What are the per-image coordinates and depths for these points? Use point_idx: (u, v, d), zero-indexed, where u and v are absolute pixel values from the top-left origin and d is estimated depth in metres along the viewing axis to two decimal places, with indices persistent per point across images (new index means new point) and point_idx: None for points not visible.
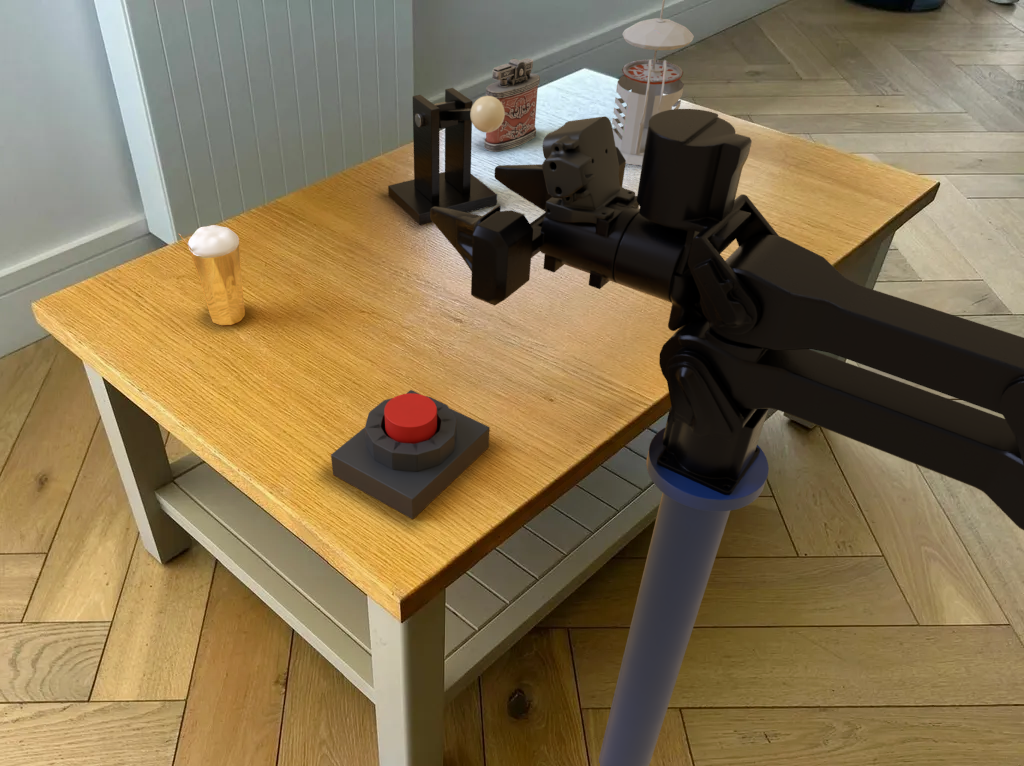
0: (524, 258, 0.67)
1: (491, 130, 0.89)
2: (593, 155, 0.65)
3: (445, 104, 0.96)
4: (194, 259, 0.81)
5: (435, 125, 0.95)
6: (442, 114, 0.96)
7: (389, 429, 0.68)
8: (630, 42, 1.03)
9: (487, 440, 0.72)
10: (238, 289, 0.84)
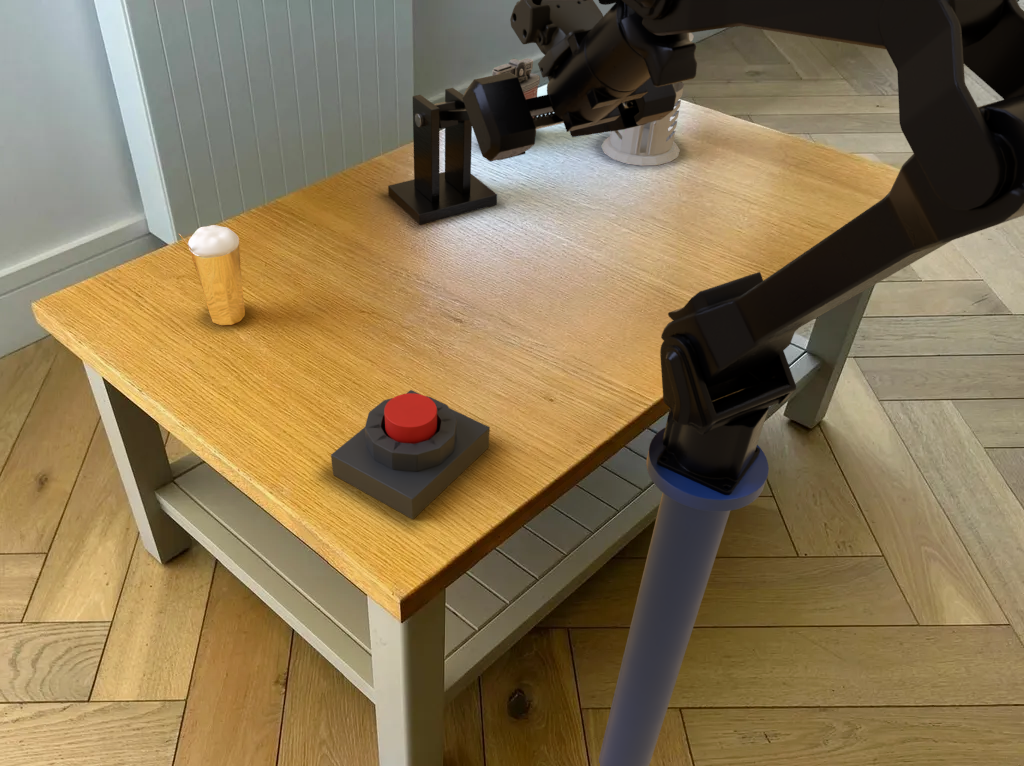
0: (515, 103, 0.72)
1: None
2: (558, 3, 0.72)
3: (445, 104, 0.96)
4: (194, 259, 0.81)
5: (435, 125, 0.95)
6: (442, 114, 0.96)
7: (389, 429, 0.68)
8: None
9: (487, 440, 0.72)
10: (238, 289, 0.84)
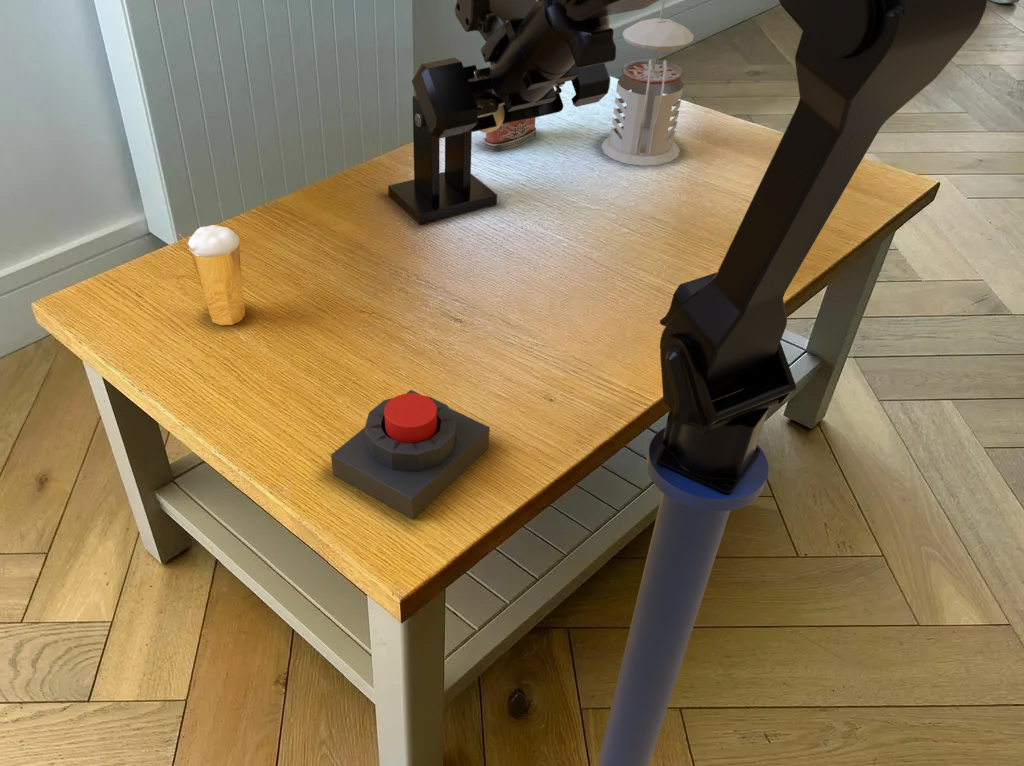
0: (459, 85, 0.79)
1: (491, 130, 0.89)
2: None
3: None
4: (194, 259, 0.81)
5: None
6: None
7: (389, 429, 0.68)
8: (630, 42, 1.03)
9: (487, 440, 0.72)
10: (238, 289, 0.84)
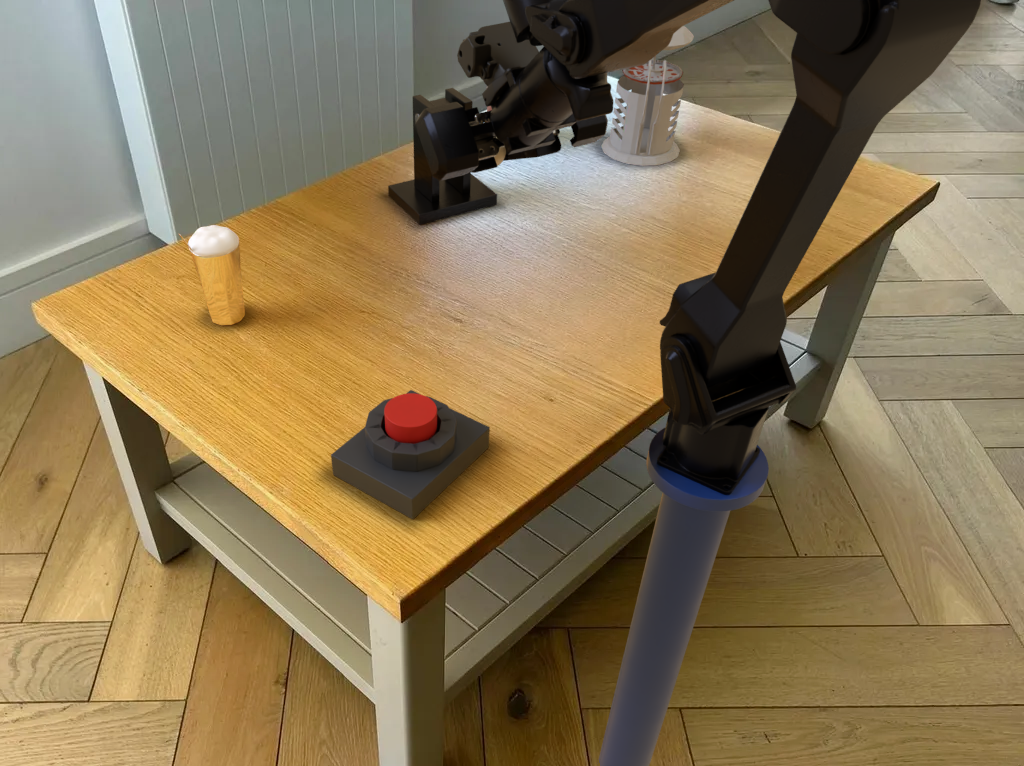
0: (461, 129, 0.81)
1: None
2: (499, 41, 0.81)
3: None
4: (194, 259, 0.81)
5: None
6: None
7: (389, 429, 0.68)
8: None
9: (487, 440, 0.72)
10: (238, 289, 0.84)
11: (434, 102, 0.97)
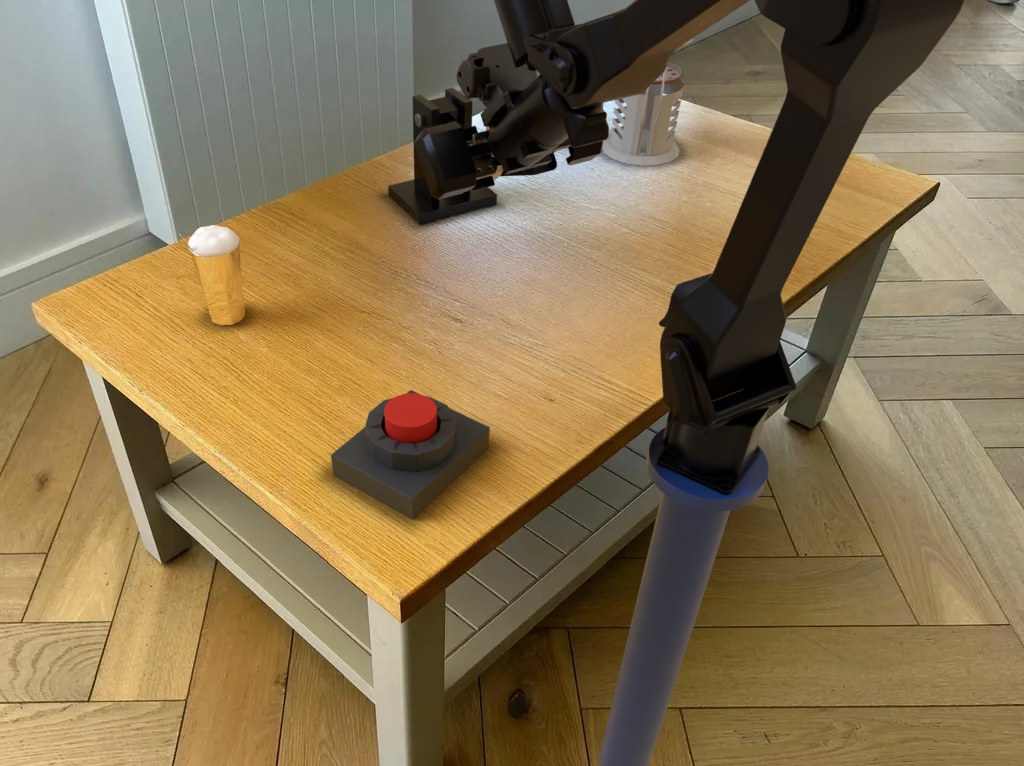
0: (459, 150, 0.83)
1: None
2: (498, 63, 0.83)
3: (448, 112, 0.96)
4: (194, 259, 0.81)
5: (435, 125, 0.95)
6: (443, 121, 0.96)
7: (389, 429, 0.68)
8: None
9: (487, 440, 0.72)
10: (238, 289, 0.84)
11: (435, 102, 0.97)
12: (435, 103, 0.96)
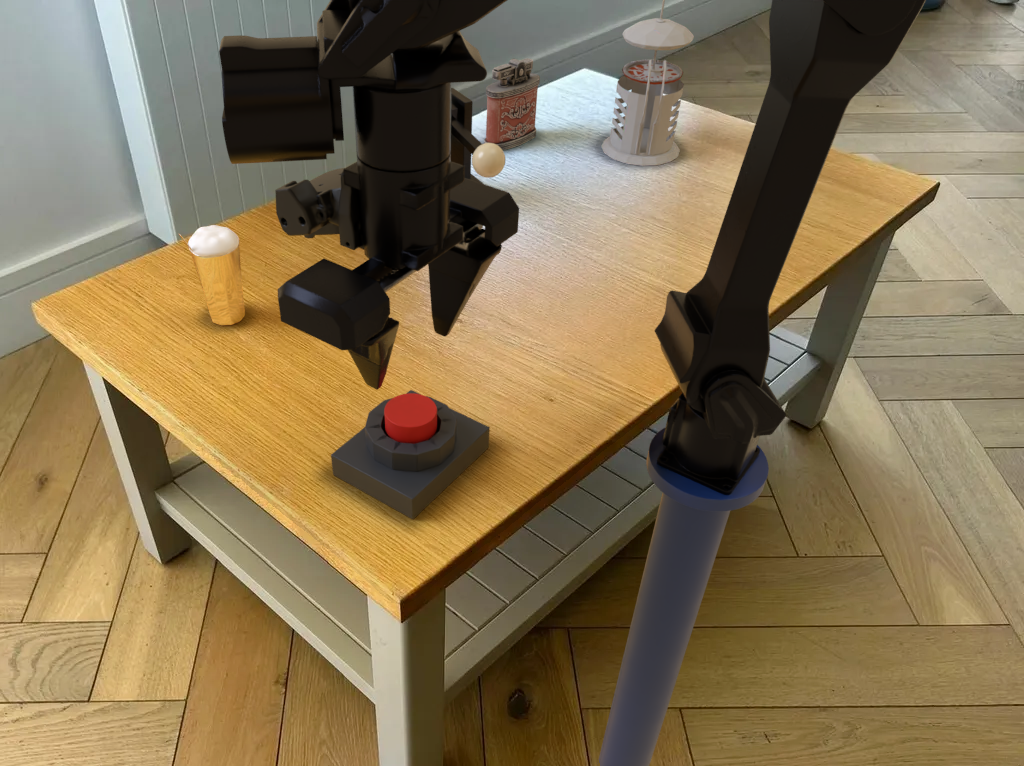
0: (337, 275, 0.54)
1: (489, 177, 0.92)
2: (319, 184, 0.59)
3: None
4: (194, 259, 0.81)
5: None
6: None
7: (389, 429, 0.68)
8: (630, 42, 1.03)
9: (487, 440, 0.72)
10: (238, 289, 0.84)
11: None
12: None
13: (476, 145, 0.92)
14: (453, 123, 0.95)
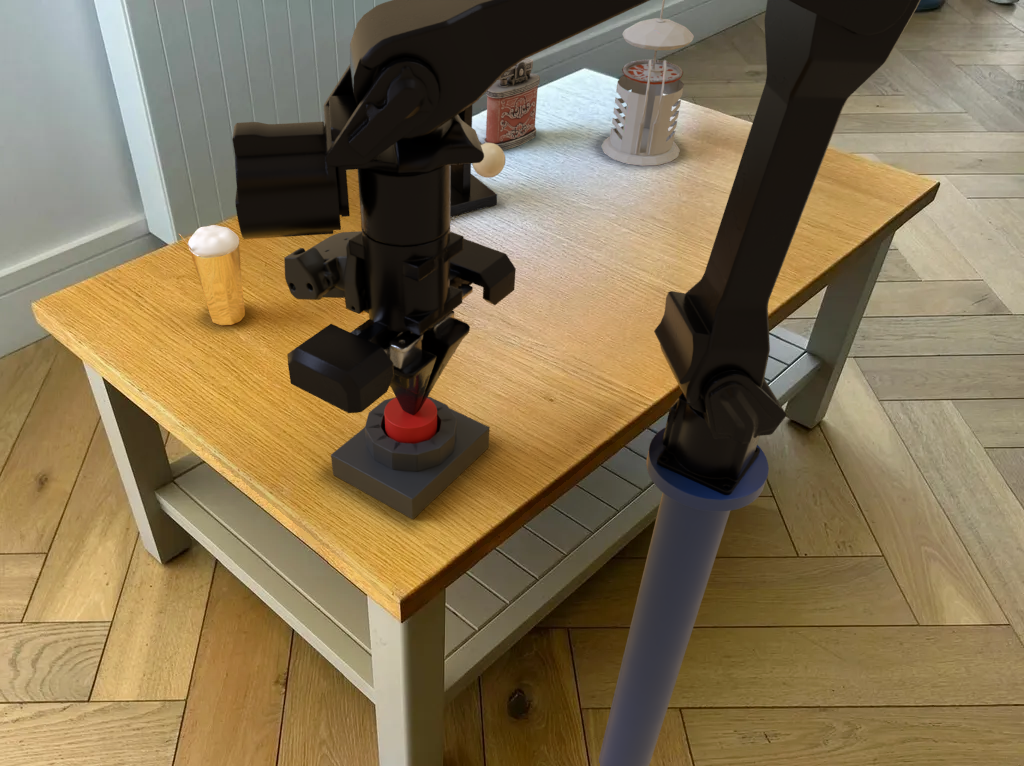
0: (344, 341, 0.58)
1: (489, 177, 0.92)
2: (326, 249, 0.62)
3: None
4: (194, 259, 0.81)
5: None
6: None
7: (389, 430, 0.68)
8: (630, 42, 1.03)
9: (487, 440, 0.72)
10: (238, 289, 0.84)
11: None
12: None
13: None
14: None
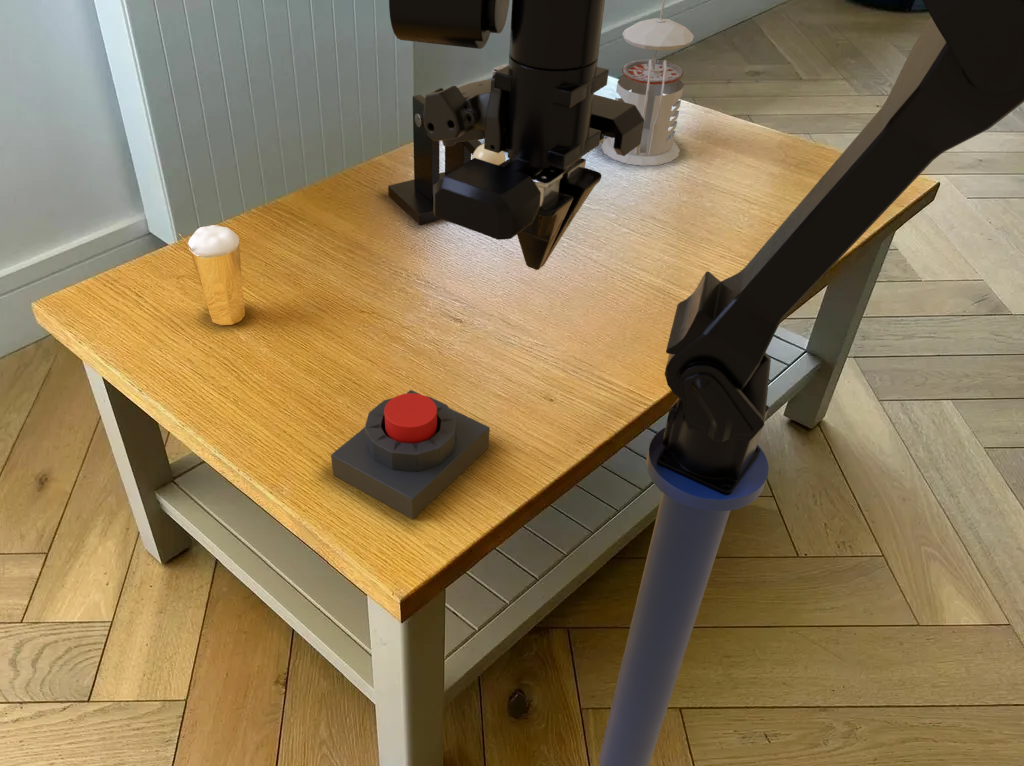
0: (491, 170, 0.58)
1: None
2: (462, 93, 0.63)
3: None
4: (194, 259, 0.81)
5: None
6: None
7: (389, 429, 0.68)
8: (630, 42, 1.03)
9: (487, 440, 0.72)
10: (238, 289, 0.84)
11: None
12: None
13: (476, 145, 0.92)
14: None
